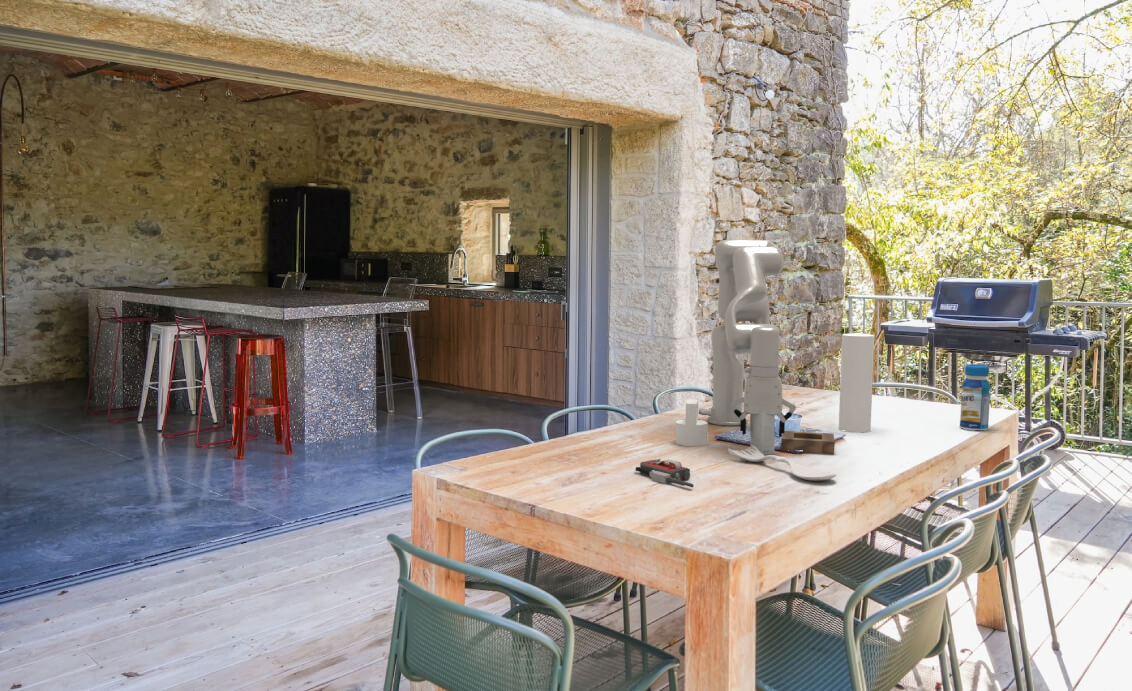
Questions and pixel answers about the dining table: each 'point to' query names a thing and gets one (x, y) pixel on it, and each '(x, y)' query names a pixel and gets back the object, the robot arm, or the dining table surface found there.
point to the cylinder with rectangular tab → (691, 427)
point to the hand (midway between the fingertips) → (762, 434)
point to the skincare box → (762, 432)
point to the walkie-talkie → (665, 471)
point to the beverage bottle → (975, 398)
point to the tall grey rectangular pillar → (856, 382)
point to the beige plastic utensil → (796, 469)
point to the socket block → (808, 442)
